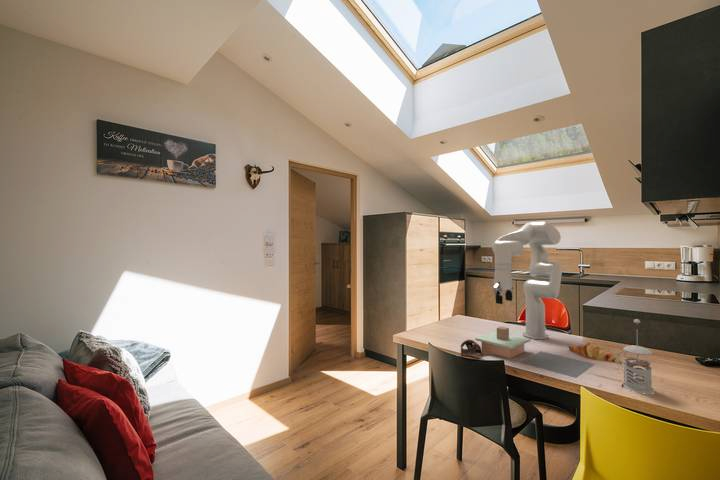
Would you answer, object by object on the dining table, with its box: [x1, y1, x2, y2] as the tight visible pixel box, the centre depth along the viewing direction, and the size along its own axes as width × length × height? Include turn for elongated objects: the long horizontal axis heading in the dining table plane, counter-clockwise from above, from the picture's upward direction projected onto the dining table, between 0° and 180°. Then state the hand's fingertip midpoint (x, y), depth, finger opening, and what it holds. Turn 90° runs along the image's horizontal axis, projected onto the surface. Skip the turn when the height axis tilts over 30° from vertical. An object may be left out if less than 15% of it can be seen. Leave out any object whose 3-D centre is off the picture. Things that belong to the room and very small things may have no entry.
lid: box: [475, 326, 532, 349], centre depth 163 cm, size 18×18×6 cm
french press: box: [615, 318, 656, 395], centre depth 124 cm, size 10×12×25 cm
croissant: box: [568, 342, 622, 364], centre depth 154 cm, size 21×10×8 cm, turn 34°
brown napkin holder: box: [460, 339, 484, 358], centre depth 161 cm, size 12×10×8 cm
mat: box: [518, 351, 596, 379], centre depth 146 cm, size 22×22×1 cm
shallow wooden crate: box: [480, 341, 525, 359], centre depth 163 cm, size 14×14×6 cm
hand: (504, 302), depth 167 cm, fingers open, 9 cm apart
